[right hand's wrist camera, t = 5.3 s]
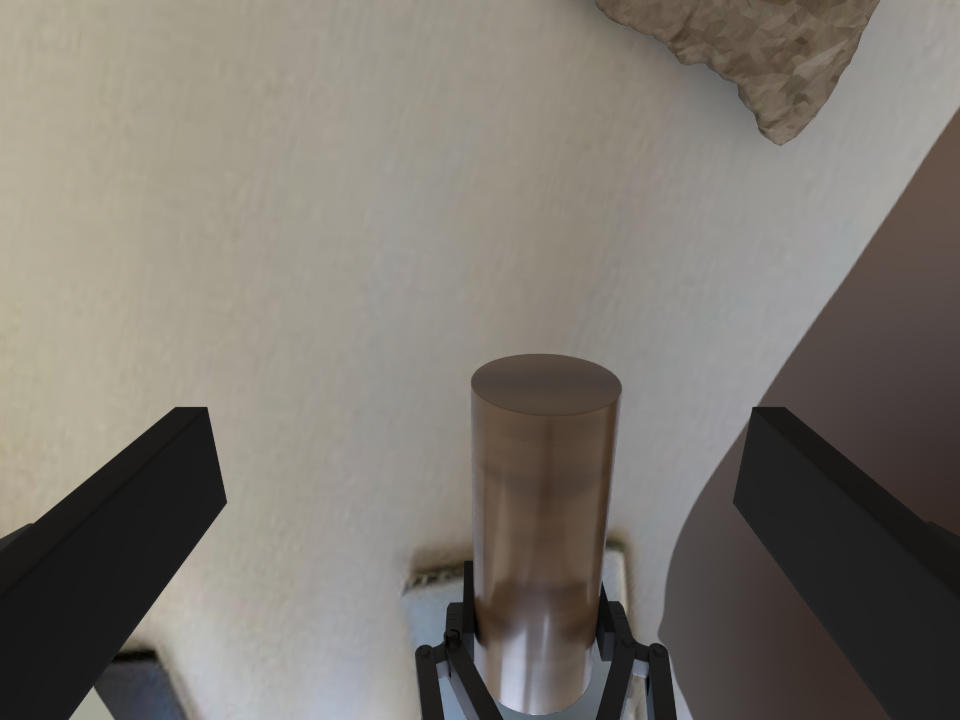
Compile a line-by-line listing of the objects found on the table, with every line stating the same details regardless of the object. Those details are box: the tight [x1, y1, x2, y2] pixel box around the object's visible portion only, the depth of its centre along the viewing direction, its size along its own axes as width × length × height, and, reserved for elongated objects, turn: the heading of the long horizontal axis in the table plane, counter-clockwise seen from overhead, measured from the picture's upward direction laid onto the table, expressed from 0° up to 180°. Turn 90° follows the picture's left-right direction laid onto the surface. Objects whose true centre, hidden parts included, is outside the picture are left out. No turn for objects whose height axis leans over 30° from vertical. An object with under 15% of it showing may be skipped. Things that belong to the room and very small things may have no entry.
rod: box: [471, 354, 622, 715], centre depth 35 cm, size 23×9×9 cm, turn 0°
